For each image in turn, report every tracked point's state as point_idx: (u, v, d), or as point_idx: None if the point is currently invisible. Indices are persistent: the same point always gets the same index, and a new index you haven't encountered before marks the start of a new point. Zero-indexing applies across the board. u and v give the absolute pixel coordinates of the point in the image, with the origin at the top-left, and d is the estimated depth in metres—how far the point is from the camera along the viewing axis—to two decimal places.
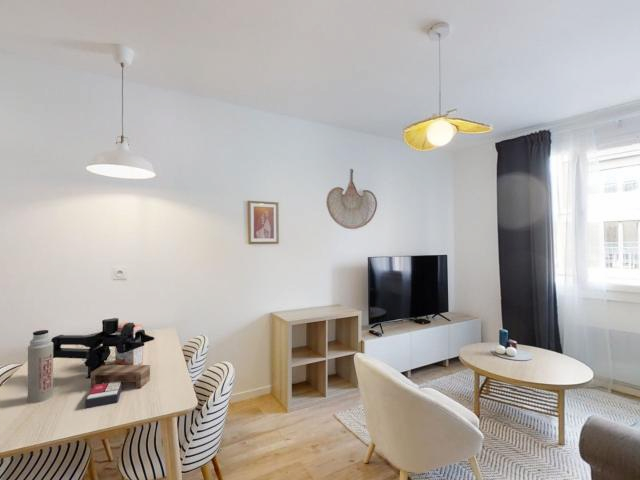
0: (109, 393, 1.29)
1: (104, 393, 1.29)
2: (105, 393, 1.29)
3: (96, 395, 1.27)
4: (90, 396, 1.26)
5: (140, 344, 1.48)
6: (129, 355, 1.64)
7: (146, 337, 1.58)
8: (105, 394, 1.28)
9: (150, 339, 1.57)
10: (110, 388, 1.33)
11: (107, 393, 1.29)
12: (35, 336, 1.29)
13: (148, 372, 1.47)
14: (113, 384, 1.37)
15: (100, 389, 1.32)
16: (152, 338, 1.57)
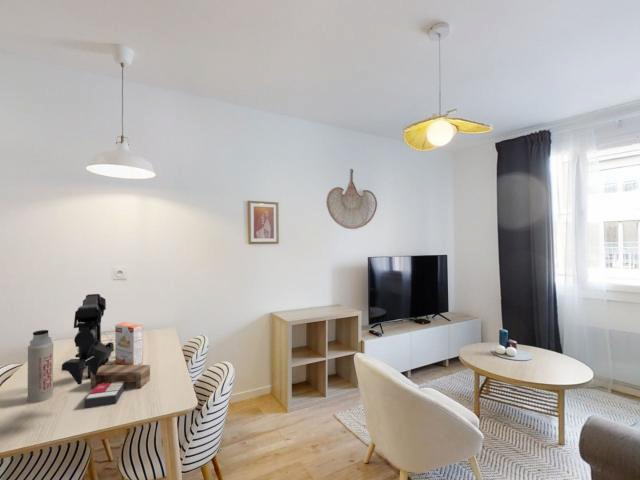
0: (108, 394, 1.28)
1: (104, 393, 1.28)
2: (105, 393, 1.28)
3: (96, 395, 1.27)
4: (90, 396, 1.26)
5: (78, 381, 1.17)
6: (129, 355, 1.64)
7: (95, 365, 1.26)
8: (104, 394, 1.27)
9: (93, 370, 1.26)
10: (111, 388, 1.33)
11: (106, 393, 1.28)
12: (35, 336, 1.29)
13: (148, 372, 1.47)
14: (115, 384, 1.37)
15: (102, 389, 1.32)
16: (94, 373, 1.26)
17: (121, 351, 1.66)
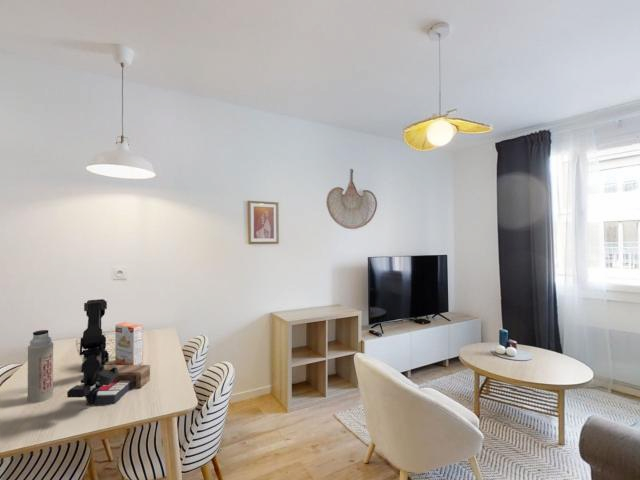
0: (109, 393, 1.29)
1: (105, 392, 1.29)
2: (106, 392, 1.29)
3: (98, 393, 1.28)
4: None
5: (91, 401, 1.24)
6: (129, 355, 1.64)
7: None
8: (105, 393, 1.28)
9: None
10: (114, 387, 1.34)
11: (107, 392, 1.29)
12: (35, 336, 1.29)
13: (148, 372, 1.47)
14: (121, 383, 1.38)
15: (106, 387, 1.34)
16: None
17: (121, 351, 1.66)
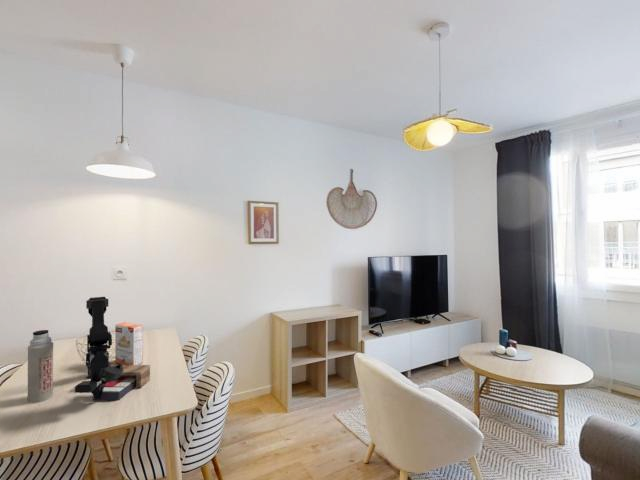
0: (114, 389, 1.32)
1: (111, 388, 1.33)
2: (111, 388, 1.33)
3: (103, 389, 1.32)
4: None
5: (97, 397, 1.28)
6: (129, 355, 1.64)
7: None
8: (110, 390, 1.31)
9: None
10: (120, 384, 1.37)
11: (113, 389, 1.32)
12: (35, 336, 1.29)
13: (148, 372, 1.47)
14: (127, 380, 1.41)
15: (113, 383, 1.37)
16: None
17: (121, 351, 1.66)
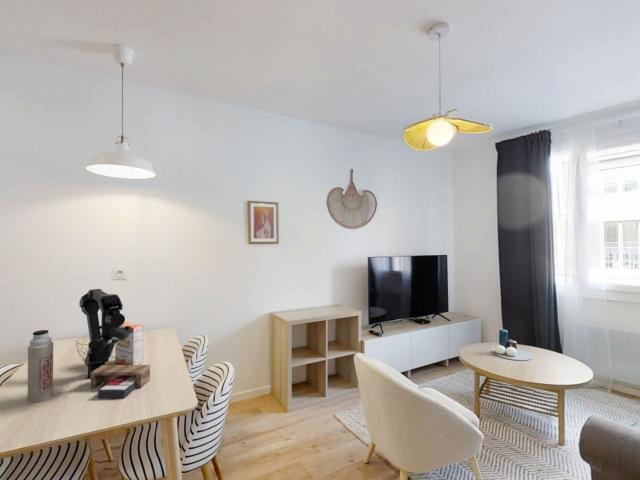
0: (119, 387, 1.33)
1: (116, 387, 1.34)
2: (117, 387, 1.34)
3: (109, 387, 1.33)
4: (104, 387, 1.33)
5: (107, 354, 1.42)
6: (129, 355, 1.64)
7: None
8: (115, 388, 1.33)
9: None
10: (125, 382, 1.38)
11: (118, 387, 1.34)
12: (35, 336, 1.29)
13: (148, 372, 1.47)
14: (132, 378, 1.43)
15: (118, 382, 1.39)
16: None
17: (121, 351, 1.66)
